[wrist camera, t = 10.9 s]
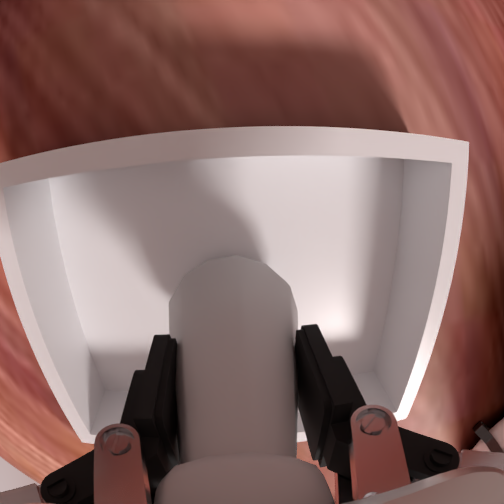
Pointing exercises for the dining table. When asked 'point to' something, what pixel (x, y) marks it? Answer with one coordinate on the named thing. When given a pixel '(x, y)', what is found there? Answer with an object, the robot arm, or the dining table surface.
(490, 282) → the dining table surface
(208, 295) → the salt shaker
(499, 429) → the coffee press
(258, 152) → the bin
